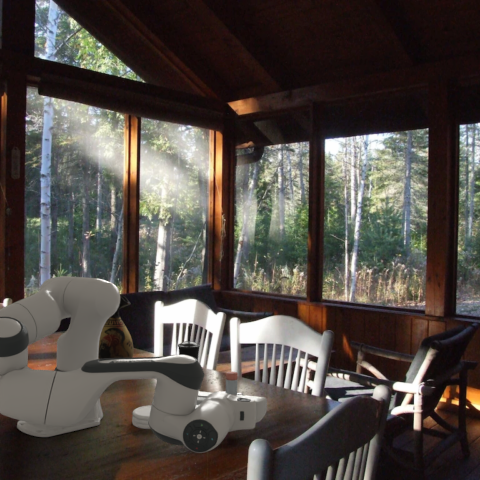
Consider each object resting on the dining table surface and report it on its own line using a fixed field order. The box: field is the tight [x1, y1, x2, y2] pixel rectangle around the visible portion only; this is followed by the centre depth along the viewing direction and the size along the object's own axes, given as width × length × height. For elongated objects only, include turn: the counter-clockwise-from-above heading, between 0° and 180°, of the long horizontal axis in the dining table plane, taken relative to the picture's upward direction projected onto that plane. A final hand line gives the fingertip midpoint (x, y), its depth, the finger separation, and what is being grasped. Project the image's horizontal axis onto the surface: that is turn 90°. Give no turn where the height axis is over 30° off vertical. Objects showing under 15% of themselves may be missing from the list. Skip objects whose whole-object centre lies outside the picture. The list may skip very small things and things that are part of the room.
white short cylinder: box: [131, 404, 152, 430], centre depth 144 cm, size 10×10×4 cm
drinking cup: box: [177, 325, 201, 362], centre depth 182 cm, size 8×8×20 cm
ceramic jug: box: [98, 295, 134, 359], centre depth 197 cm, size 17×15×30 cm
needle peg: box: [225, 371, 239, 395], centre depth 136 cm, size 3×3×14 cm
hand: (232, 395), depth 137 cm, fingers closed on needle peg, 3 cm apart
